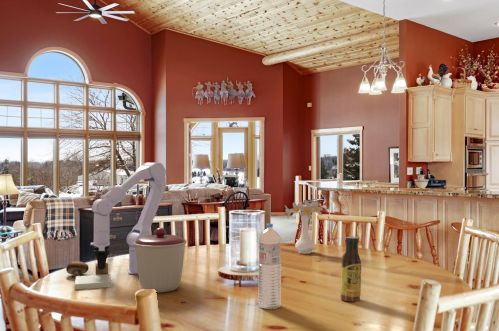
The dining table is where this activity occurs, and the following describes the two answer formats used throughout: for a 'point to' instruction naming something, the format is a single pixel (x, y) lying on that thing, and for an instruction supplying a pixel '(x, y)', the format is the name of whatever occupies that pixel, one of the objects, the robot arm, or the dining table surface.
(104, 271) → the walnut block
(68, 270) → the mushroom
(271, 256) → the water bottle
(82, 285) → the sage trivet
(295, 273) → the dining table surface
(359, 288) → the sauce bottle
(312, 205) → the flower vase
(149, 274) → the canister
